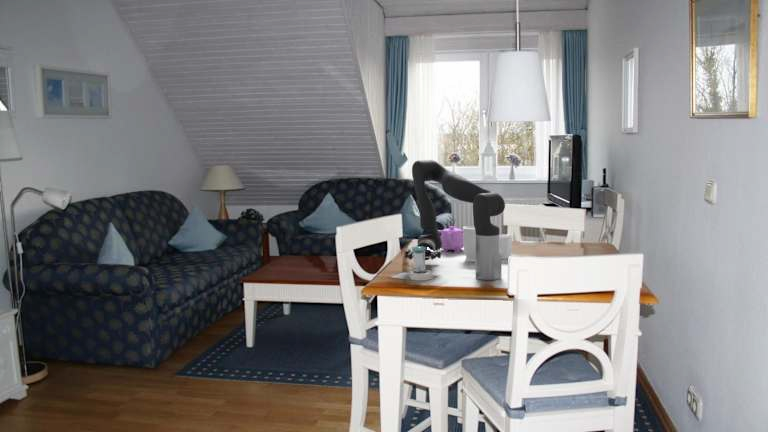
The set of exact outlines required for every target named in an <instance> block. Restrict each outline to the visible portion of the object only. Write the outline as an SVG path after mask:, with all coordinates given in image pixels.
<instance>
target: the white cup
mask: <svg viewBox="0 0 768 432" xmlns="http://www.w3.org/2000/svg"><path fill="white" fill-rule="evenodd" d="M512 249H513V235H512V234H504V233H503V234H501V233H500V234H499V253H501V260H507V259H506V258H508V257H509V256H511V257H512Z"/></svg>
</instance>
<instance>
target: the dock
mask: <svg viewBox="0 0 768 432" xmlns="http://www.w3.org/2000/svg"><path fill="white" fill-rule="evenodd" d="M425 271H426V273H414V269H413V270H410V271H409V272H405V271H403V272H400V273H398V274H394V275H392V276H390V278H392V279H393V278H395V279H401V280H409V281H416V282H423V283H425V282H428V281H430V280H433V279H435V278H436V279H437V278H438V276H436V275H433V272H432V271H431V270H430V269H425Z"/></svg>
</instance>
